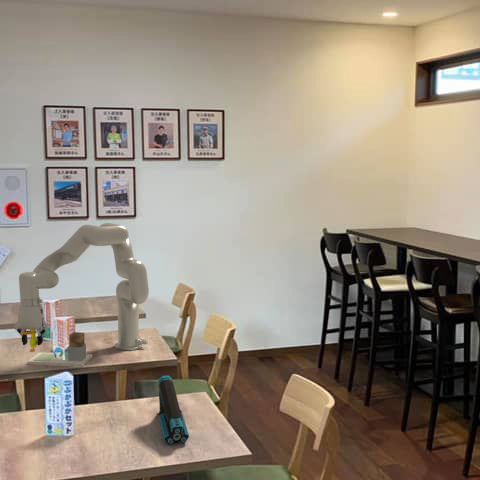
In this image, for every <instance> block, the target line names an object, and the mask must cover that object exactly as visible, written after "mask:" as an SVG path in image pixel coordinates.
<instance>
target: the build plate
mask: <svg viewBox="0 0 480 480" xmlns="http://www.w3.org/2000/svg"><path fill="white" fill-rule="evenodd" d="M53 353H54V352H40V351H39V352H37V353H36V354H35V355H33V357H31V358H30V359H29V360H27V361H26V364H27V365H35V366H37V365H38V366H39V365H40V366H54V367H55V366H56V367H57V366H58V367H60V366H61V367H79V368H81V367H84V366H85V365H86V364H87V363H88V362H89V361H90V360H91V359H92V357H93V355H92V354H90V353H89V354H87V353H86V358H85V359H84V360H82V361H68V358H67V359H66V360H59V359H56V358H55V357H54V355H53Z"/></svg>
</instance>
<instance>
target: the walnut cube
mask: <svg viewBox="0 0 480 480" xmlns="http://www.w3.org/2000/svg"><path fill="white" fill-rule="evenodd" d="M68 336H69V337H68V341H69V343H68V344H69V345H68V346H69V347H82V346H83V345H84V344H86V343H85V339H86V337H85V332H78V331H73V332H71V333H70V334H69V335H68Z"/></svg>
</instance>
